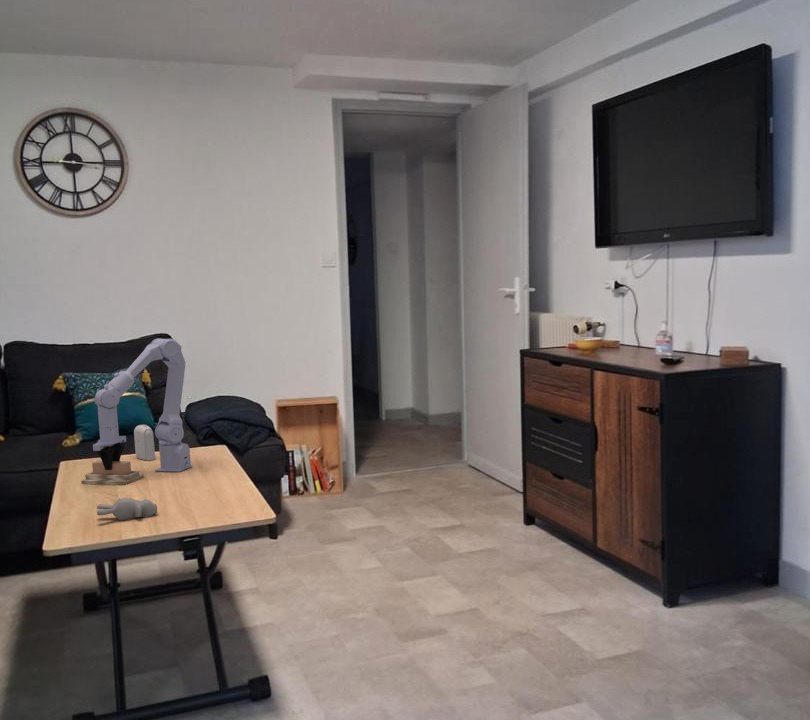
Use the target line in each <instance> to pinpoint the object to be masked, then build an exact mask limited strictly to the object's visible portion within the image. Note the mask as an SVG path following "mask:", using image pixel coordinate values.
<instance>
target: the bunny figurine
mask: <svg viewBox="0 0 810 720" xmlns="http://www.w3.org/2000/svg"><path fill="white" fill-rule="evenodd" d="M96 509H97V511H96V515H97V516H101V517H102V516H107V515H113V516H114V517H115V518H116V519H118V521H128V520H129V519H130V520H132V519H136V518H140V517H142V518H150V517H152V516H153V515H154V514H158V505H157V503H154V502H152V500H149V499H146V498H145V499H141V500H139V499H137V500H136V499H134V498H132V497H131V498H130V497H129V498H128V497H125V498H124V497H122V498H119V499H117V500H116V501H114V503H113V504H112V505H110V504H104V503H103V504H101V503H100V504H98V505H96Z"/></svg>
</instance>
